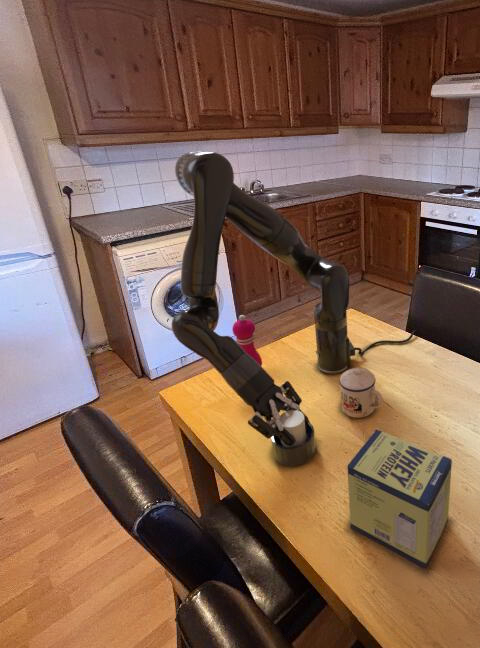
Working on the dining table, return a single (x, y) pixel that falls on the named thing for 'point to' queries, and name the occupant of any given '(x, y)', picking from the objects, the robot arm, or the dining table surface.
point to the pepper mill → (246, 337)
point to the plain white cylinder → (294, 427)
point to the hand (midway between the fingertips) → (299, 433)
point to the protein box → (399, 496)
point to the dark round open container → (295, 450)
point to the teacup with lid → (359, 392)
